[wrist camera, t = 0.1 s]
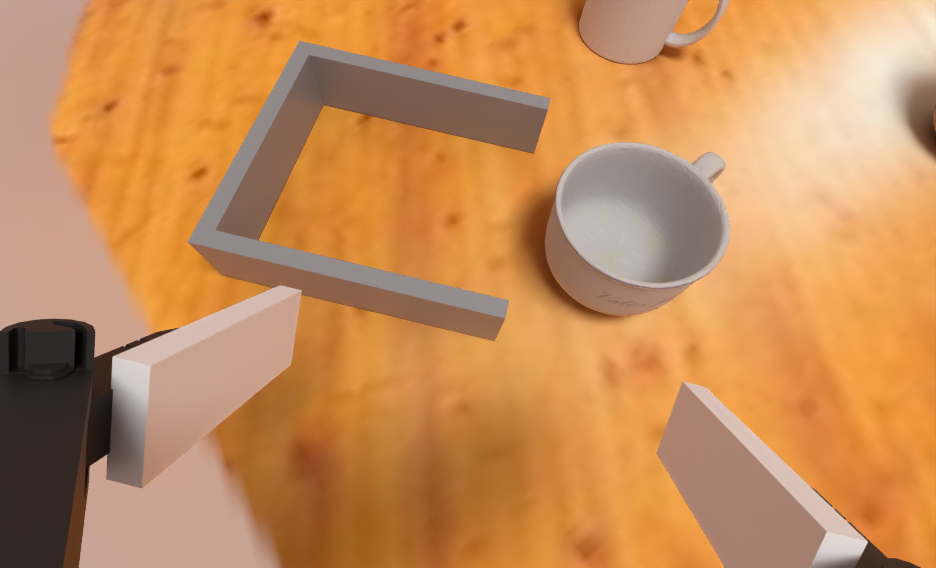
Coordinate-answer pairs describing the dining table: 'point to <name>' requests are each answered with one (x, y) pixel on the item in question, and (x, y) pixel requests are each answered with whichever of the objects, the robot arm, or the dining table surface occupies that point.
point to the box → (279, 145)
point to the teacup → (635, 226)
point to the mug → (637, 28)
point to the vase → (934, 119)
